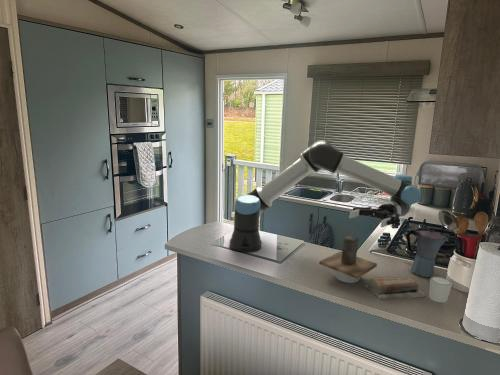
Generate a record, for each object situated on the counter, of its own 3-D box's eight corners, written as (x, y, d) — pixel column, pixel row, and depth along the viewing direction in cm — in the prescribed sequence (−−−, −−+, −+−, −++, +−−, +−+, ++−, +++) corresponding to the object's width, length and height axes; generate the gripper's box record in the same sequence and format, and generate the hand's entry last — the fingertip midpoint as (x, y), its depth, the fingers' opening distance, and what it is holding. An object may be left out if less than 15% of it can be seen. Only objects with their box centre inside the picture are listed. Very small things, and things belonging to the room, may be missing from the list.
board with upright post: (319, 264, 134) (321, 236, 132) (340, 253, 146) (343, 228, 143) (357, 278, 124) (360, 249, 121) (376, 266, 135) (380, 239, 133)
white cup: (426, 299, 122) (429, 281, 120) (428, 291, 127) (431, 274, 126) (448, 306, 118) (452, 287, 117) (449, 297, 124) (452, 279, 123)
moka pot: (444, 281, 137) (453, 233, 133) (403, 275, 140) (411, 228, 136) (437, 271, 146) (445, 226, 142) (398, 266, 149) (405, 222, 145)
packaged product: (381, 288, 119) (366, 275, 129) (379, 301, 120) (365, 287, 130) (427, 285, 123) (409, 273, 132) (425, 297, 124) (407, 284, 133)
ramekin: (329, 280, 133) (330, 267, 132) (335, 269, 143) (336, 257, 142) (359, 287, 128) (360, 274, 127) (363, 275, 138) (364, 263, 137)
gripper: (416, 227, 144) (394, 237, 130) (361, 212, 162) (337, 220, 147) (419, 210, 143) (398, 218, 128) (364, 197, 160) (339, 203, 145)
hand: (365, 219), depth 138 cm, fingers open, 13 cm apart
